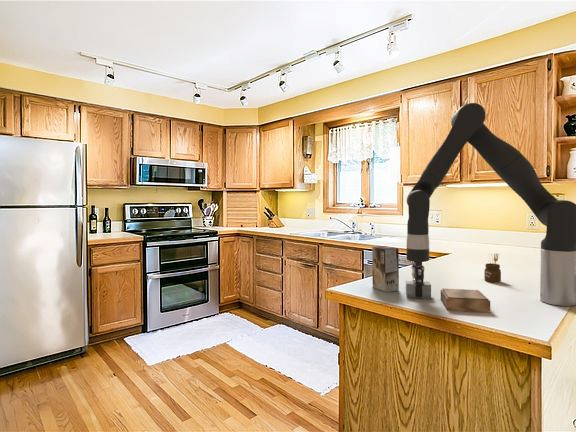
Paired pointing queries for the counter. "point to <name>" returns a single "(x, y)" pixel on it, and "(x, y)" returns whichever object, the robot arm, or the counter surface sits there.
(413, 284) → the block
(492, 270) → the utensil holder
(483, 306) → the walnut stand
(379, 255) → the coffee box
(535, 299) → the counter surface
